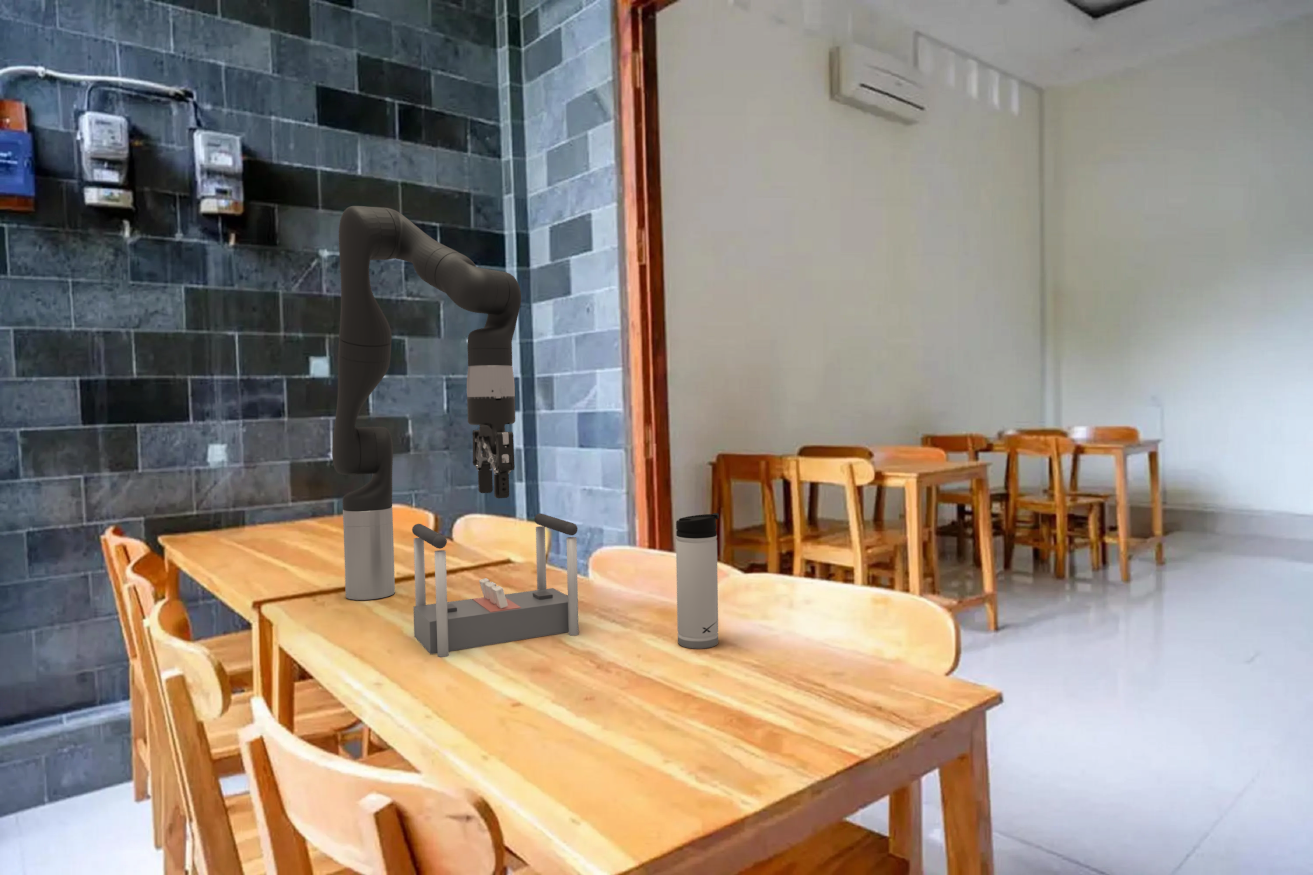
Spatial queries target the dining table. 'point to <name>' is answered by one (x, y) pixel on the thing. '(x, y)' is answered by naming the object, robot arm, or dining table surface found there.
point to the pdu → (493, 607)
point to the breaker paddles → (493, 593)
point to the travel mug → (697, 581)
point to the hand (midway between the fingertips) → (493, 495)
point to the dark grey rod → (556, 524)
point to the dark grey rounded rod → (429, 536)
